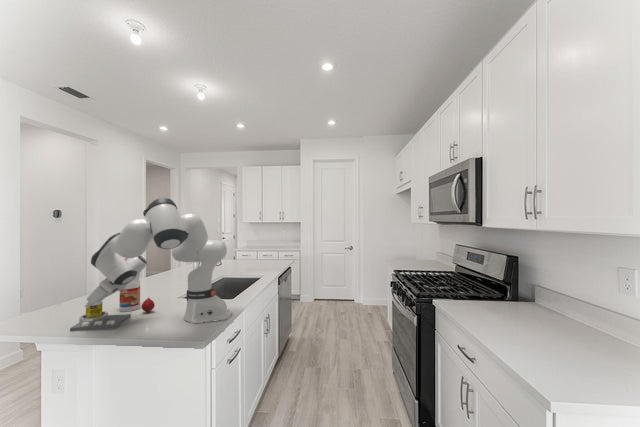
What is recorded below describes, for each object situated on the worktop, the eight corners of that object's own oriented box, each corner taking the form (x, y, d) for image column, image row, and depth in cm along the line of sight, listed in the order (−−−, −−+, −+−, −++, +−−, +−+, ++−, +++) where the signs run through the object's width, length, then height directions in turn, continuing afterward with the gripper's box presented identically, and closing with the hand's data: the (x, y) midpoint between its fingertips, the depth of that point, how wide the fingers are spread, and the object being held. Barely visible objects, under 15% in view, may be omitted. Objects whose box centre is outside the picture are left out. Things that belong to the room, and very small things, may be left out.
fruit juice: (143, 306, 161) (144, 256, 162) (132, 312, 152) (132, 259, 152) (127, 306, 162) (128, 256, 162) (115, 311, 152) (115, 259, 153)
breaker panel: (130, 317, 145) (130, 311, 145) (115, 328, 130) (115, 322, 130) (90, 319, 141) (90, 313, 141) (70, 331, 127) (70, 325, 127)
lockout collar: (111, 315, 142) (111, 310, 142) (100, 323, 132) (100, 318, 132) (88, 317, 140) (88, 312, 140) (75, 325, 130) (75, 319, 130)
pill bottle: (89, 323, 132) (89, 299, 132) (83, 321, 135) (83, 297, 135) (104, 319, 137) (105, 296, 137) (98, 317, 140) (98, 294, 140)
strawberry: (140, 315, 148) (140, 299, 148) (143, 311, 153) (143, 296, 153) (152, 314, 149) (152, 298, 149) (155, 310, 155) (156, 295, 155)
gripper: (121, 273, 148) (100, 293, 146) (99, 282, 128) (73, 305, 126) (131, 281, 149) (109, 301, 147) (110, 291, 128) (85, 315, 127)
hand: (93, 303), depth 136 cm, fingers open, 8 cm apart
